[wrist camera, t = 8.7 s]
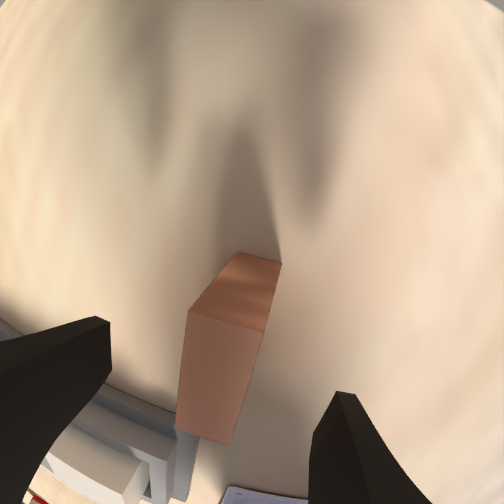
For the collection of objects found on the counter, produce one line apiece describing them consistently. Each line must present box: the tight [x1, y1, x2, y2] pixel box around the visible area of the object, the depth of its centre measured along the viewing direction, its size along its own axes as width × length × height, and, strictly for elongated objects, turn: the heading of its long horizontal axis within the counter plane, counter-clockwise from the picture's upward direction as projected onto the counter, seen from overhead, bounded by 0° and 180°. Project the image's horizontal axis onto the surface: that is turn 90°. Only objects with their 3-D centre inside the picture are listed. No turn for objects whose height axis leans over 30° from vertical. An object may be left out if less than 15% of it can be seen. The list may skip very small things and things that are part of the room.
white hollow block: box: [40, 423, 150, 504], centre depth 16 cm, size 6×14×5 cm, turn 77°
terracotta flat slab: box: [175, 251, 282, 446], centre depth 11 cm, size 2×5×6 cm, turn 168°
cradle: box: [0, 319, 199, 504], centre depth 18 cm, size 20×12×3 cm, turn 78°
